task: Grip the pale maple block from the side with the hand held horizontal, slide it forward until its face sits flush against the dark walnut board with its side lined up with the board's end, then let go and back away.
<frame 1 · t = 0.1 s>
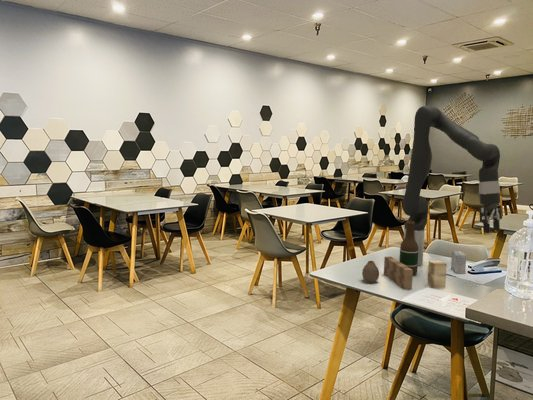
hand: (491, 231, 168), 22 cm above the table, tool pointing down, fingers open, 8 cm apart
maple block: (436, 285, 168), on the table
medicine box: (457, 271, 188), on the table
walnut board: (397, 281, 173), on the table
beer bottle: (407, 274, 183), on the table
vase: (370, 282, 173), on the table
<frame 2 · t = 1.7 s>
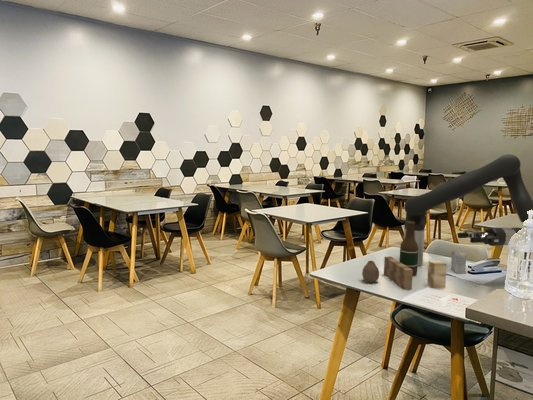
hand: (464, 237, 166), 20 cm above the table, tool horizontal, fingers open, 8 cm apart
nothing on the table moved.
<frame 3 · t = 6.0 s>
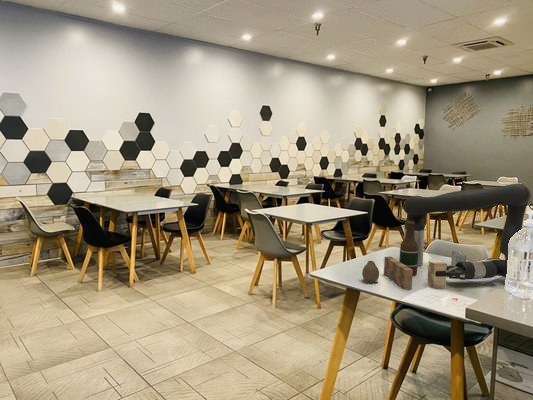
hand: (432, 271, 166), 6 cm above the table, tool horizontal, fingers closed on maple block, 5 cm apart
maple block: (436, 285, 168), on the table, touching gripper
everything else where it was.
when the fingers open (7 cm above the table, at t = 10.6 s): maple block drops 1 cm, on the table.
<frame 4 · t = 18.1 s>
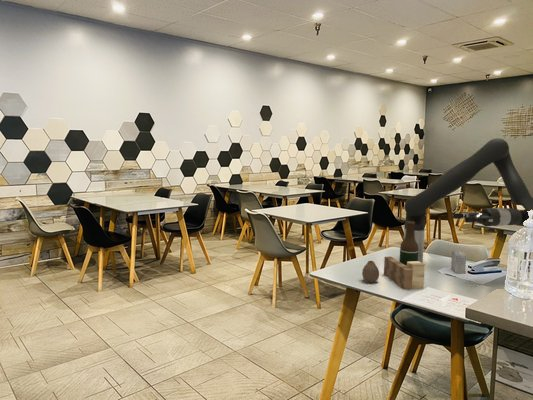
hand: (458, 217, 167), 28 cm above the table, tool horizontal, fingers open, 8 cm apart
maple block: (414, 286, 166), on the table
everything else where it was.
at the end: maple block 0.3 cm from the target spot on the table beside the walnut board, on the table; maple block tilted 0°; the gripper is holding nothing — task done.
